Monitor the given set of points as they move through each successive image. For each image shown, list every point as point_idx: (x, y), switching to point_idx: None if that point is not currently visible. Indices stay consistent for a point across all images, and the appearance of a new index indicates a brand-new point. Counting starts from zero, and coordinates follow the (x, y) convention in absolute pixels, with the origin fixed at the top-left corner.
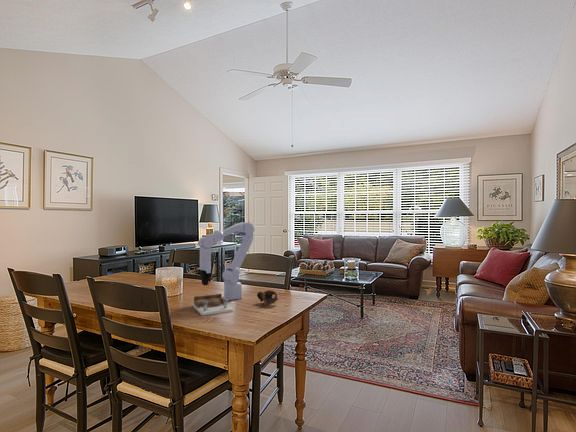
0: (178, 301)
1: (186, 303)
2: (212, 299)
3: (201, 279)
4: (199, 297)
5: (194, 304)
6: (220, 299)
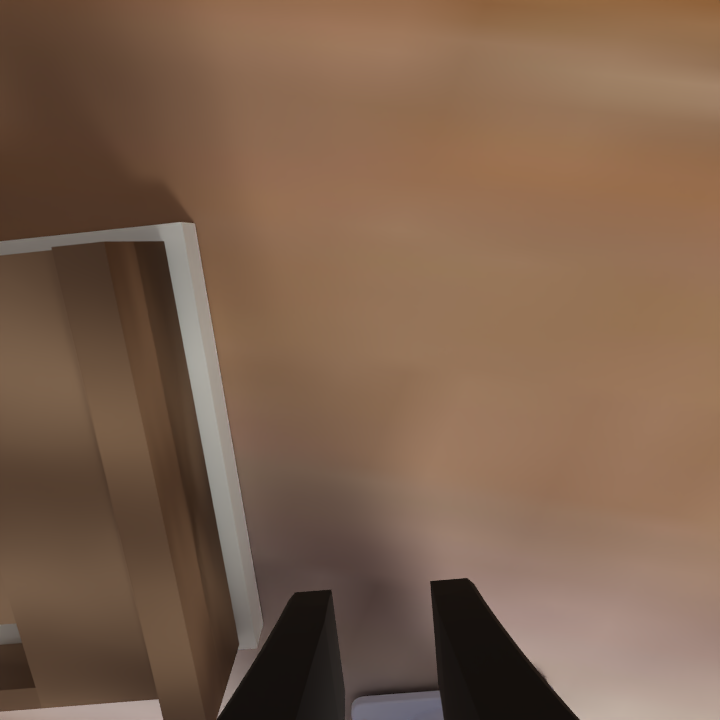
0: (620, 12)
1: (417, 143)
2: (58, 547)
3: (520, 699)
4: (86, 348)
5: None
6: (26, 655)
